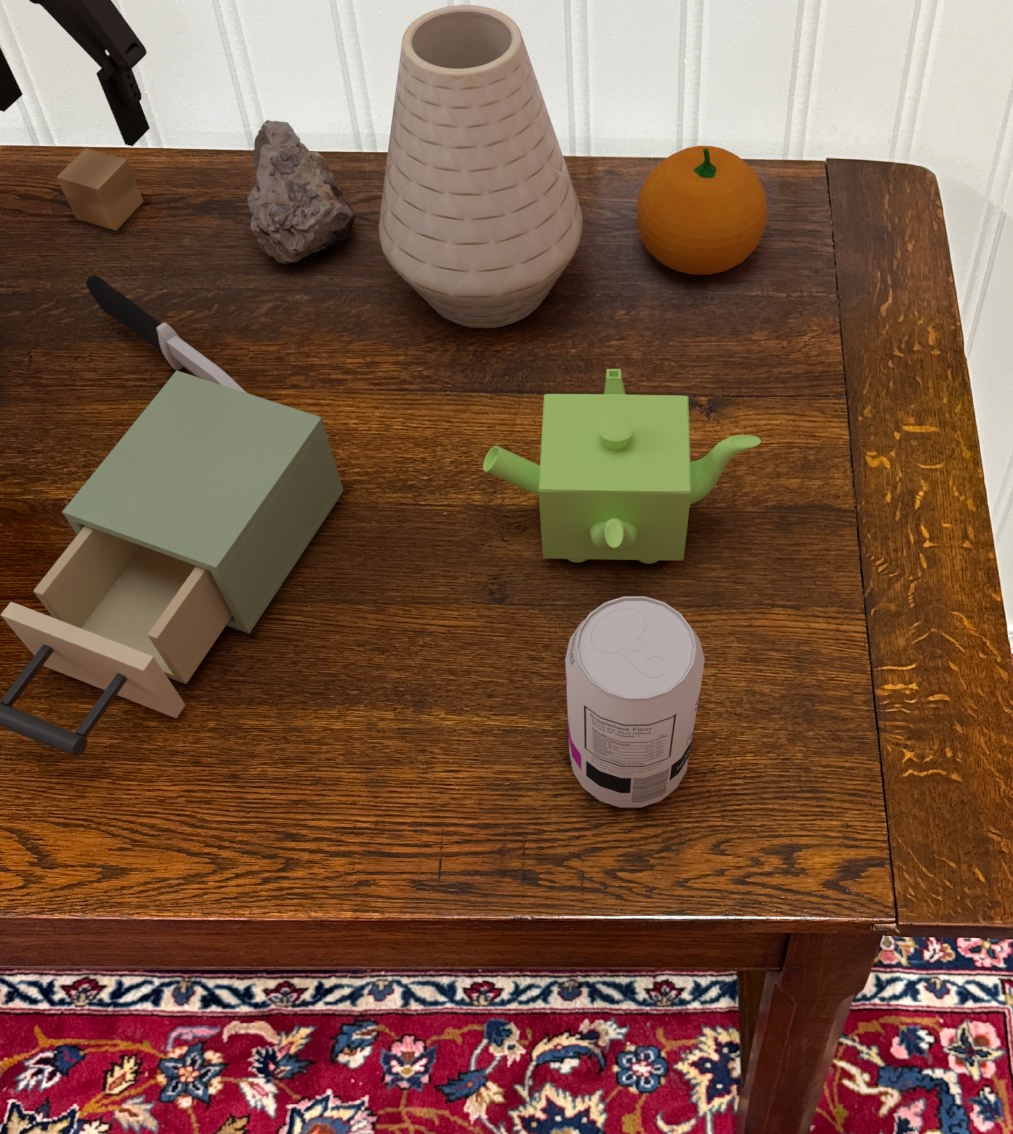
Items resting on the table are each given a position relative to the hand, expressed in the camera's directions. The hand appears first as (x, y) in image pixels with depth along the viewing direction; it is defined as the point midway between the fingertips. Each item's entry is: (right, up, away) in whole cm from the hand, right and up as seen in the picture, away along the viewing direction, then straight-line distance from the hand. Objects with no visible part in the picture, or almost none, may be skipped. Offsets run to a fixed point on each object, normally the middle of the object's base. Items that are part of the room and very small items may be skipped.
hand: (73, 119), depth 101 cm
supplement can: (+48, -55, -22) cm, 76 cm away
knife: (+12, -24, -3) cm, 27 cm away
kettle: (+48, -38, -12) cm, 62 cm away
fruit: (+56, -10, +5) cm, 57 cm away
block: (0, -5, +8) cm, 10 cm away
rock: (+19, -9, +6) cm, 21 cm away
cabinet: (+17, -38, -12) cm, 43 cm away
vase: (+37, -14, +2) cm, 39 cm away
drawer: (+13, -47, -18) cm, 52 cm away
